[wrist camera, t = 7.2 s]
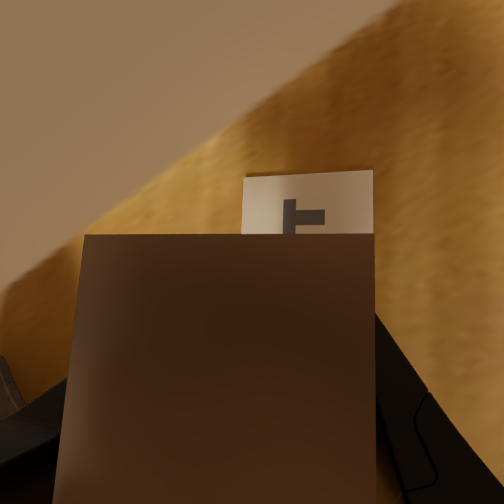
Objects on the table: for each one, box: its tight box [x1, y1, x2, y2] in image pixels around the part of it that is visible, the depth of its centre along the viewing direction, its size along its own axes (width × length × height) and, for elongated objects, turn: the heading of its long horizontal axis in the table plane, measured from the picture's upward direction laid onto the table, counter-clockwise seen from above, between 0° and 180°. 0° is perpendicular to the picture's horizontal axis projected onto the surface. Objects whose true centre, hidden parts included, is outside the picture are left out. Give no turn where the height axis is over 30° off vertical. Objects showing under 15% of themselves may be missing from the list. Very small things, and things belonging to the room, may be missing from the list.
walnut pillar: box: [52, 233, 376, 504], centre depth 10 cm, size 5×5×12 cm
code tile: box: [241, 170, 373, 234], centre depth 22 cm, size 10×10×1 cm
